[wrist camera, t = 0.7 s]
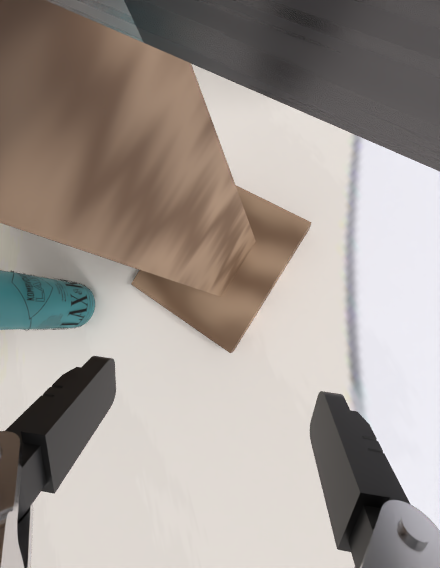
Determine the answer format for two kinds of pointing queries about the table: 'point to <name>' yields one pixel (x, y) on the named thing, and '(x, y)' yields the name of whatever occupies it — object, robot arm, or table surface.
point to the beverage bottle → (42, 302)
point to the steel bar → (308, 57)
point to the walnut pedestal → (132, 169)
